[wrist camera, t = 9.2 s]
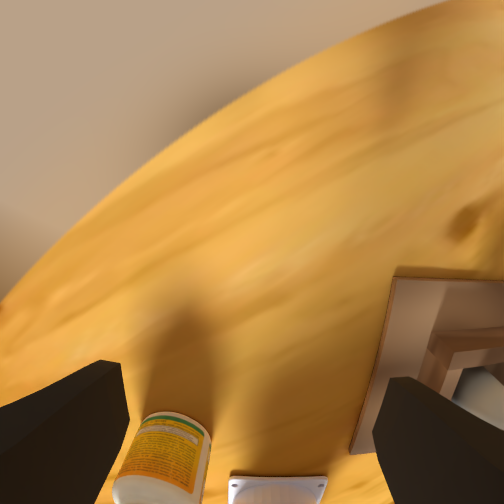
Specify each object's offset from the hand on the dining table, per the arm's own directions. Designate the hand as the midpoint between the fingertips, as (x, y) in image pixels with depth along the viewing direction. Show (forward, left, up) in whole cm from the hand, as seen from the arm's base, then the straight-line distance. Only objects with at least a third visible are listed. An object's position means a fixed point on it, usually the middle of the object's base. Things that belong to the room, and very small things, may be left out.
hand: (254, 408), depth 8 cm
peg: (-6, -15, -10) cm, 19 cm away
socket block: (-6, -15, -10) cm, 19 cm away
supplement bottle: (-12, +5, -11) cm, 17 cm away
